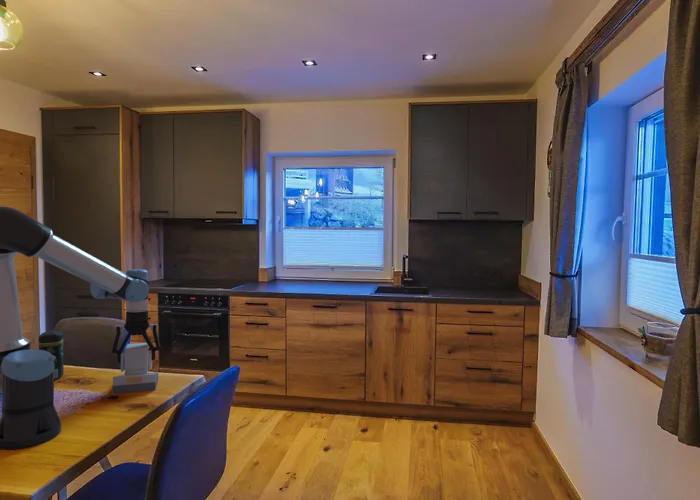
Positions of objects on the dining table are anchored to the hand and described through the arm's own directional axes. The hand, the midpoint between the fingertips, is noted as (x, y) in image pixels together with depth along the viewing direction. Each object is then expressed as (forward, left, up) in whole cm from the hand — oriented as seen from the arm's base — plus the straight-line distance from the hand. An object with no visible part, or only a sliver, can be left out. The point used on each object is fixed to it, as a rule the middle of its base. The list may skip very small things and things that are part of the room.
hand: (136, 369), depth 159 cm
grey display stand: (0, 0, -6) cm, 6 cm away
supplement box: (0, 0, -4) cm, 4 cm away
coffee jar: (+20, +33, -7) cm, 39 cm away
